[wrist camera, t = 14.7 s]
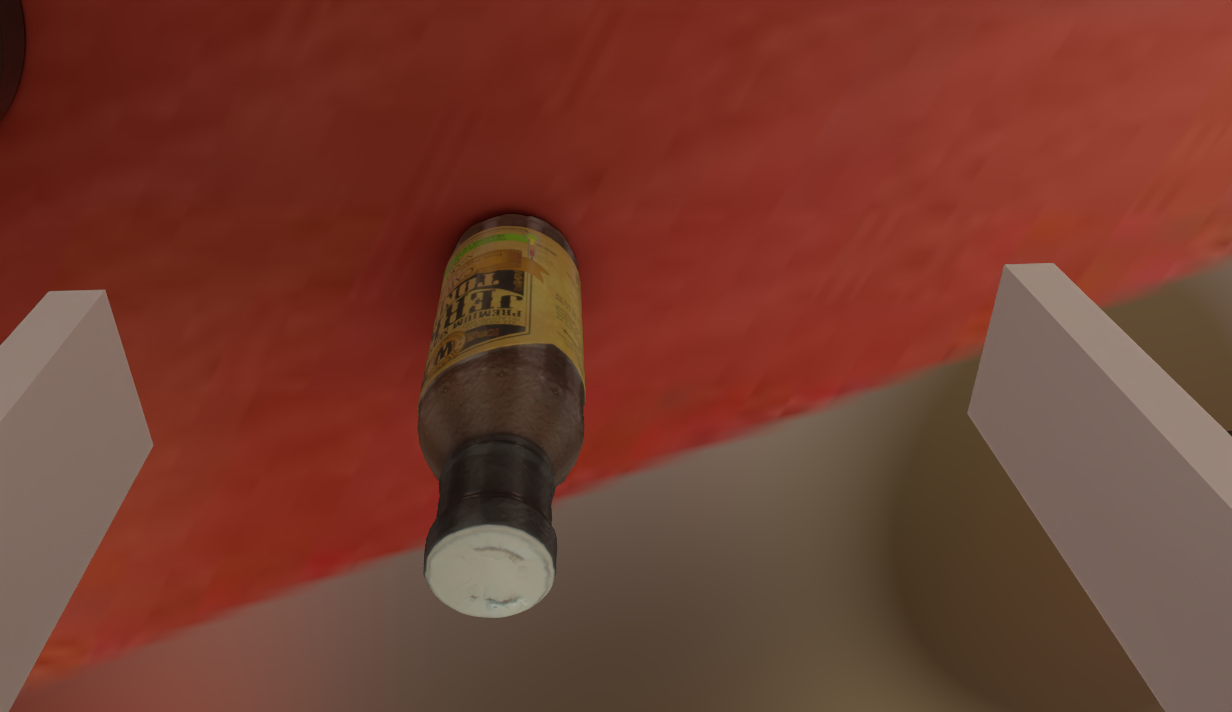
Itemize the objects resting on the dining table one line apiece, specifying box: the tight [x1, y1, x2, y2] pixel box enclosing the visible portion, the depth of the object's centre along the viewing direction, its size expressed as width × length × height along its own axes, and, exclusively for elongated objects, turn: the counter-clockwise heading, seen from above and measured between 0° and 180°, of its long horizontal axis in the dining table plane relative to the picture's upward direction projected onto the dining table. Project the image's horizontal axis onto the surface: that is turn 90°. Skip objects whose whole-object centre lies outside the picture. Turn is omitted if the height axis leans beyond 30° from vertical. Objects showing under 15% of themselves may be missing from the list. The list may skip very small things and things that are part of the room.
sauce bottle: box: [418, 214, 585, 618], centre depth 37 cm, size 6×6×20 cm
